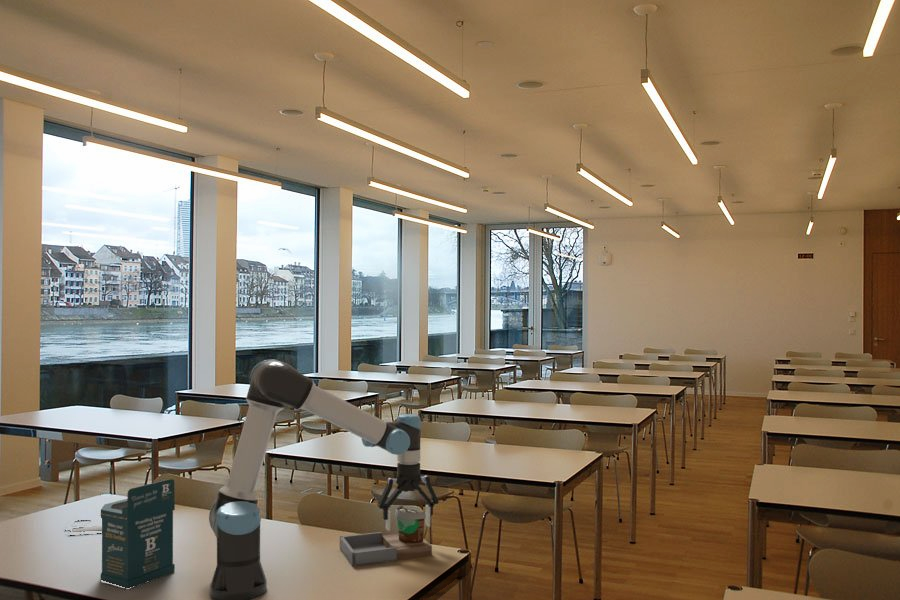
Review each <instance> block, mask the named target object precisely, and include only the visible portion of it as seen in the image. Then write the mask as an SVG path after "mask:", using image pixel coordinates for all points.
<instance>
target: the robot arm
mask: <svg viewBox="0 0 900 600" xmlns="http://www.w3.org/2000/svg"><path fill="white" fill-rule="evenodd" d="M248 381H249V388H248V390H247V395H246V398H245V401H246V402H247V404H248V410H247V411H246V416H245V420H244V423H243V426H242V430H241V433H240V438H239V440H238V443H237V447H236V449H235V454H234V458H233V459H232V460H233V461H232V464H231V467H230V471H229V474H228V478H227V481H226V484H225V485H223V486H222V487H221V488H219V490H218V493H217V496H216V500H215V501H214V503H213V504H212V506H211V507H210V510H209V513H208V514H209V515H208V520H209V522H208V523H209V526H210V528H211V530H212V532H213V533H214V536H215V539H216V567H215V570H214V573H213V577H212V579H211V581H210V582H211V583H210V586H209V594H210V597H211V598H212V599H214V600H251V599H254V598H257V597H259V596H262V594H264V593H265V592H266V591H267V588H268V587H267V584H268V582H267V577H266V575H265V571H264V569H263V568H264V567H263V566H262V563H261V520H262V515H261V510H260V507H259V506H258V505H257V503H258V501H259V496H258V494H257V493H256V490H257V485H258V481H259V479H260V475H261V471H262V469H263V468H262V467H263V465H264V461H265V458H266V455H267V451H268V447H269V444H270V441H271V437H272V433H273V430H274V426H275V422H276V420H277V416H278V414H279V413H280V412H281V411H282V410H284V409H285V406H287V407H290V408H293V409H295V410H297V411H299V410H305V412H308V413H311V414H313V415H315V416H316V417H319V418H320V419H323V420H324V421H326V422H329V423H331V424H333V425H335V426H337V427H338V428H340V429H342V430H344V431H347V432H349V433H351V434H353V435H355V436H356V437H359V438H361V442H362V445H363V446H364V447H367V448H370V447H371V448H373V447H378V448H380V449H382V450H385V451H387V452H388V453H390V454H391V455H397V456H396V457H397V458H396V459H397V461H398V462H397V464H396V467H397V468H396V478H391V477H388V478H387V480H386V481H387V482H386V486H385V488H384V490H383V491H382V494H381V496H380V498H379V500H378V503H377V504H376V506H377V508H379V509H381V510H382V519H383V520H384V521H385V529H386V530H387V531H388V532H389V531H391V509H390V507H391V506H392V504H394V502H395V501H396V499H398V497H399V496H400V494H401V493H403V492H405V493H407V492H415V491H417V493H418V494H419V496H421V498H423V500H424V501H425V502H426V503H427V504H425V515H426V518H425V519H424V526H426V527H428V528H431V517H432V516H433V515H434V506H435V505H438V504H439V499H438V498H437V494H436V493H435V491H434V489H433V486H432V484H431V480H430V476H429V475H426V474H425V475H424V476H421V463H420V462H421V438H422V436H421V435H422V433H421V432H422V423H421V422H422V421H421V417H420V416H419V415H418V414H413V413H406V414H405V413H403V414H399V415H398V416H397V419H396V420H395V421H385V420H383V419H381V418H379V417H378V416H375V415H374V414H372V413H369V412H368V411H365V410H363V409H361V408H359V407H358V406H356V405H354V404H352V403H350V402H348V401H346V400H344V399H342V398H340V397H338V396H337V395H335V394H332V393H331V392H328V391H327V390H324V389H323V388H321V387H319V386H318V385H316V384H315V380H313V379H312V378H309V377H307V376H306V375H304V374H303V373H302V372H300V371H298V370H297V369H296V368H294V367H293V366H292V365H290V364H289V363H286V362H285V361H280V360H279V359H272V358H271V359H265V360H263V361H260V362H258V363H257V364H256V365H255V366H254V367H253V368H252V370H251V371H250V375H249V380H248ZM421 482H422V483H423V484H424V485H425V487H426V489H427V492H428V494H429V496H430V497H429V496H428V495H427V494H426V493H425V492H424V490H423V488H422V487H420V484H421ZM395 484H397V486H396V487H395V489H394V491H392V488H393V486H395ZM391 491H392V493H391ZM390 493H391V495H390ZM389 495H390V496H389ZM430 498H431V499H430Z"/></svg>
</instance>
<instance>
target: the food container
mask: <svg viewBox="0 0 900 600" xmlns="http://www.w3.org/2000/svg"><path fill="white" fill-rule="evenodd" d="M425 511H426V510H425ZM425 511H424V510H423V511H420V512H419V511H416V510H415V509H412V508H411V509H409V508H405V507H404V505H403V504H400V505H399V506H397V507H396V509H395V513H394V516H395V517H396V519H397V520H396V521H397V534H399V541H401V542H404V543H421V542H423V538H424V532H425V518H426V515H425Z"/></svg>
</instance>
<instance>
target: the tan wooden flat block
mask: <svg viewBox="0 0 900 600" xmlns="http://www.w3.org/2000/svg"><path fill="white" fill-rule="evenodd" d="M382 544H383V545H384V546H385V547H386V548H391V547H396V552H397V561H398V560H404V559H413V558H420V557H427V556H428V555H429V556H433V547H432V546H433V545H432V544H431V543H430V542H429V541H427V540H426V539H425V538H424V537H423V542H421V543H404V542H401V541H399V534H398V533H394V534H385V535H383V534H382Z"/></svg>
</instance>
